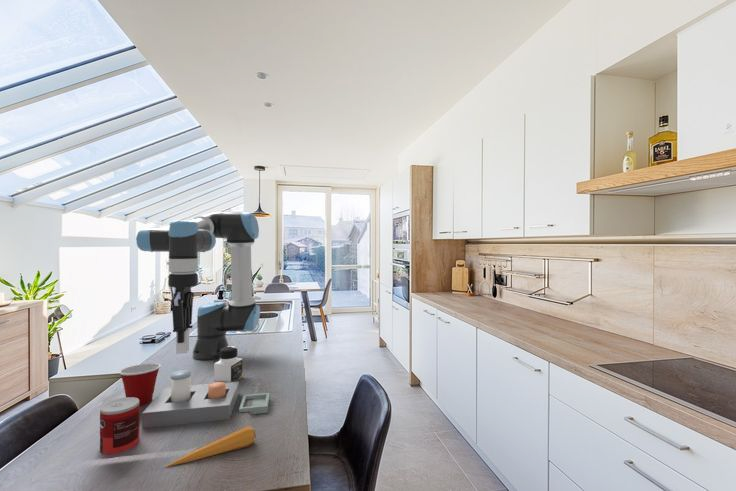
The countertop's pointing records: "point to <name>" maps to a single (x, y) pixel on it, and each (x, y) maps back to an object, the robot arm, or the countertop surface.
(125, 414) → the canned food
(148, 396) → the plastic cup
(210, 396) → the plunger
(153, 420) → the housing
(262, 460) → the countertop surface
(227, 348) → the medicine bottle
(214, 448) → the carrot
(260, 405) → the tray
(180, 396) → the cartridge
